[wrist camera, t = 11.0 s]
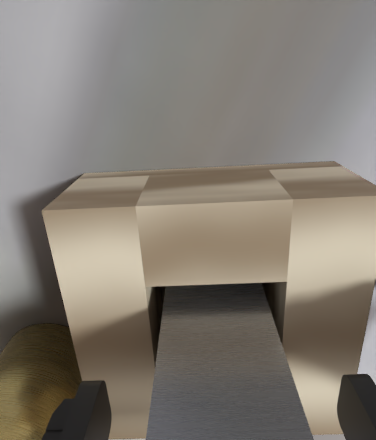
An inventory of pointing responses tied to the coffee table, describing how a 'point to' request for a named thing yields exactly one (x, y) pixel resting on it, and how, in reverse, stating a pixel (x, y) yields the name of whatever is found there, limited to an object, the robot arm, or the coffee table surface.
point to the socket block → (216, 269)
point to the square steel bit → (222, 369)
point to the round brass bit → (36, 379)
